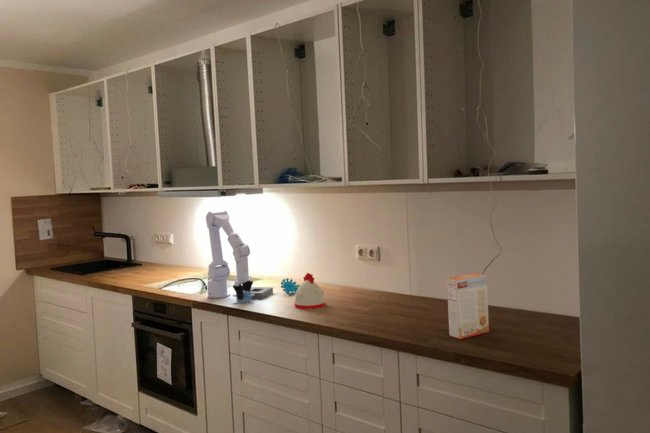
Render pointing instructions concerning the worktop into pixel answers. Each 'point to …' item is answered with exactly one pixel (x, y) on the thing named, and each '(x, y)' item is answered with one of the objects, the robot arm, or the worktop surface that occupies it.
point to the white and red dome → (309, 294)
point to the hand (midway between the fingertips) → (243, 297)
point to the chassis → (261, 292)
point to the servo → (245, 297)
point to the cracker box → (467, 305)
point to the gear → (289, 286)
